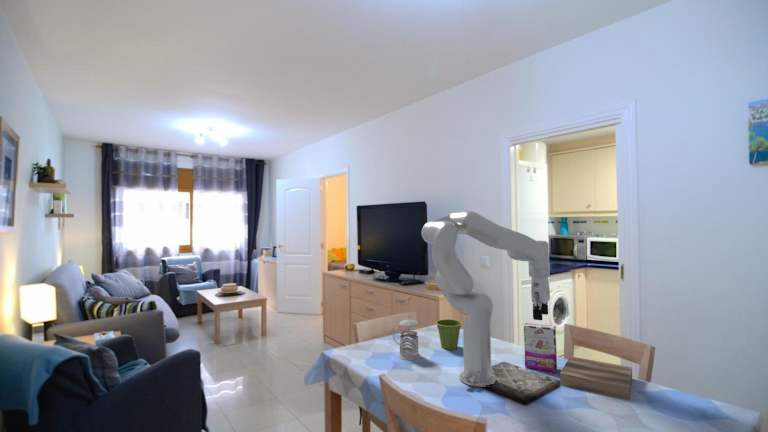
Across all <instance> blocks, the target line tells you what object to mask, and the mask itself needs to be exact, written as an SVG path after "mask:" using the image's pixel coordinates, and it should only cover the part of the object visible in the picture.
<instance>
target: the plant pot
mask: <svg viewBox="0 0 768 432" xmlns="http://www.w3.org/2000/svg"><path fill="white" fill-rule="evenodd" d="M435 324H436V325H437V326H436V327H437V329H438V336H439V340H440V341H439V342H440V346H441V348H442V349H446V350H449V351H450V350H452V351H453V350H455V349H457V348H458V347H459V346H458V345H459V338H460V332H461V328H462V324H463V322H462V321H460V320H458V319H452V318H451V319H449V318H444V319H443V318H442V319H438V320H436V321H435Z"/></svg>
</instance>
